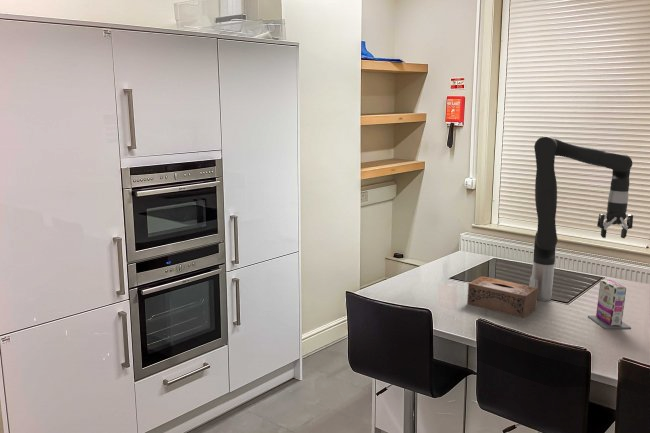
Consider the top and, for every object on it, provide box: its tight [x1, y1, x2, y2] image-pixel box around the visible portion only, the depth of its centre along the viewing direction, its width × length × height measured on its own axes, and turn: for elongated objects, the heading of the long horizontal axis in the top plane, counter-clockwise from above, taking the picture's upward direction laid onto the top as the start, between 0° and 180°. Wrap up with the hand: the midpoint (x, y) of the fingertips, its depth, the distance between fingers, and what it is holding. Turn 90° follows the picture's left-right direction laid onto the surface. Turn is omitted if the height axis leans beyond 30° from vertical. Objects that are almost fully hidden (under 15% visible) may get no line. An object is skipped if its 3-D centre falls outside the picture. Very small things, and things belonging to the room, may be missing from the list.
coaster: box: [587, 315, 632, 330], centre depth 229 cm, size 11×13×1 cm
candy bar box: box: [595, 279, 627, 326], centre depth 228 cm, size 11×5×16 cm, turn 4°
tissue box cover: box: [466, 275, 538, 319], centre depth 246 cm, size 26×14×10 cm, turn 51°
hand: (613, 237), depth 240 cm, fingers open, 8 cm apart
